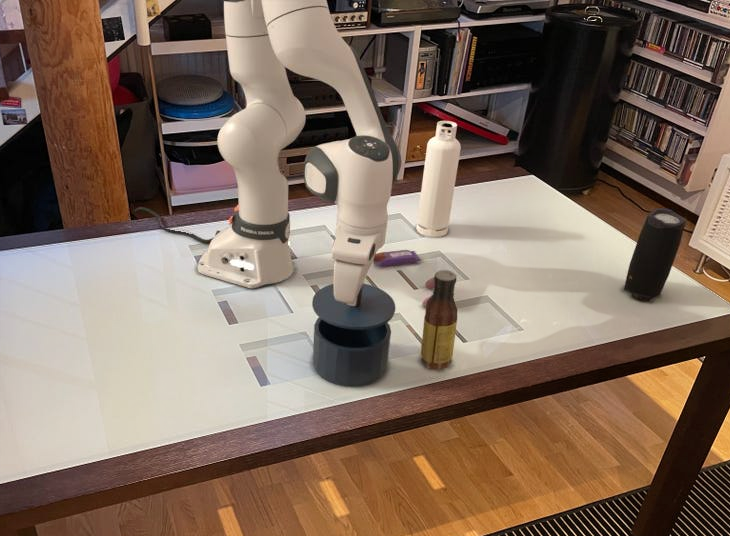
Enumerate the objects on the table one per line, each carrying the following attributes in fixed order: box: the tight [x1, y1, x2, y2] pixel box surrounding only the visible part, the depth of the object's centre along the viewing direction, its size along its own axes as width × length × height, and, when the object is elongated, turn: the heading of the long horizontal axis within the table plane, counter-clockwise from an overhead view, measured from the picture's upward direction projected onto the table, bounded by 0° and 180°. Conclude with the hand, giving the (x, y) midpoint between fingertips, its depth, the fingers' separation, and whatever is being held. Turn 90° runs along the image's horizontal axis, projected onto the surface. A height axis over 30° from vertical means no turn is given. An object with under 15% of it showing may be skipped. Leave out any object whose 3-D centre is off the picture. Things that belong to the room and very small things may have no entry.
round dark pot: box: [312, 317, 392, 388], centre depth 148 cm, size 15×15×8 cm
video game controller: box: [422, 276, 435, 309], centre depth 170 cm, size 10×5×7 cm, turn 168°
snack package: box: [373, 249, 422, 268], centre depth 184 cm, size 12×2×5 cm
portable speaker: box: [623, 207, 687, 302], centre depth 170 cm, size 9×9×20 cm
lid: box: [311, 282, 396, 330], centre depth 142 cm, size 16×16×5 cm
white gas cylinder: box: [415, 120, 462, 238], centre depth 191 cm, size 8×8×28 cm
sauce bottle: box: [420, 269, 459, 370], centre depth 146 cm, size 7×6×20 cm
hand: (354, 298), depth 142 cm, fingers closed on lid, 2 cm apart
